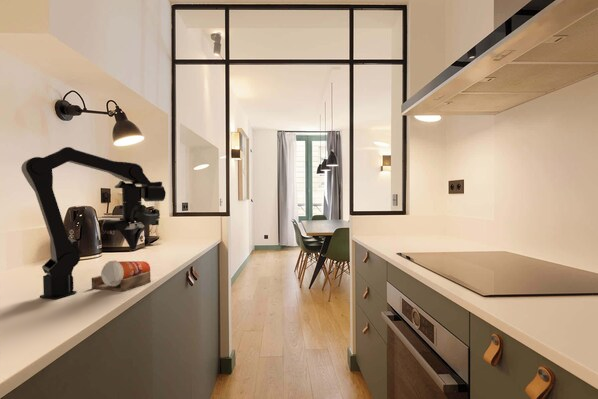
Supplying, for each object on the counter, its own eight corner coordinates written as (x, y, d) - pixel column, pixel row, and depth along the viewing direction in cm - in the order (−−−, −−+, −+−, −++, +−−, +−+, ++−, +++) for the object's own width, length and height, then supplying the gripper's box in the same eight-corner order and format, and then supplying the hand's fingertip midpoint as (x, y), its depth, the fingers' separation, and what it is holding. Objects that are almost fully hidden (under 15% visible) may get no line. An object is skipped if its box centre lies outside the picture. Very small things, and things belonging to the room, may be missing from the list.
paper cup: (156, 274, 116) (123, 278, 103) (139, 285, 117) (105, 291, 104) (147, 253, 118) (113, 255, 105) (130, 265, 119) (96, 268, 106)
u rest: (124, 291, 103) (123, 280, 103) (91, 288, 107) (91, 277, 107) (150, 281, 114) (150, 272, 114) (120, 279, 118) (120, 270, 118)
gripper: (129, 202, 103) (131, 255, 104) (171, 201, 121) (172, 245, 122) (100, 203, 107) (102, 253, 107) (145, 201, 125) (146, 245, 125)
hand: (133, 249), depth 115 cm, fingers closed
